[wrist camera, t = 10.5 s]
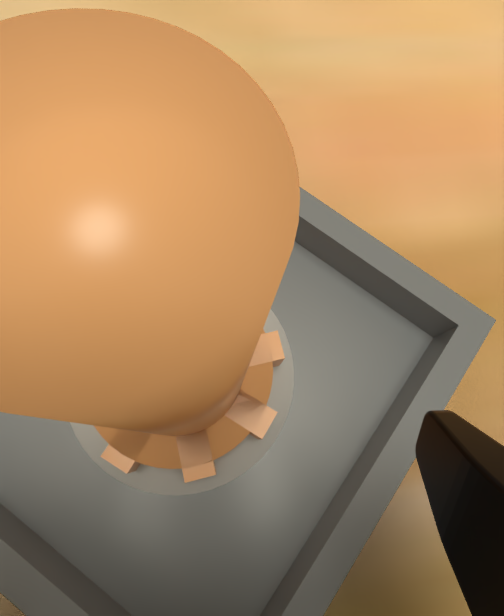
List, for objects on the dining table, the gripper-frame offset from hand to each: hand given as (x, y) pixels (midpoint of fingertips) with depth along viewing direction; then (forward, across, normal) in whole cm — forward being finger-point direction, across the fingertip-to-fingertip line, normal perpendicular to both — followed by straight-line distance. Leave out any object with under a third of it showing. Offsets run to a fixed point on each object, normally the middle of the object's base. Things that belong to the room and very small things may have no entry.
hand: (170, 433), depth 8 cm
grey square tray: (+9, 0, +5) cm, 10 cm away
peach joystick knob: (+8, 0, +5) cm, 9 cm away
